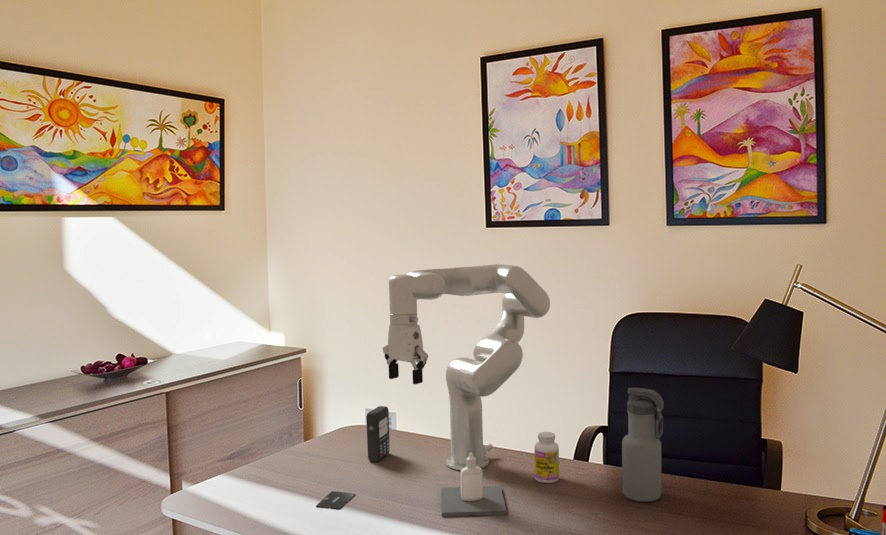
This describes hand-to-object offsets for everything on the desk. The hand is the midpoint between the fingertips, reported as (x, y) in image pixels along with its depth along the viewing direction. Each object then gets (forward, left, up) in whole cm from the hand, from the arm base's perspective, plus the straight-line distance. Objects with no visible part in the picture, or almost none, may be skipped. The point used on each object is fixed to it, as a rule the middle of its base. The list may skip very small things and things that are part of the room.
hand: (405, 380), depth 204 cm
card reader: (-7, -20, -28) cm, 36 cm away
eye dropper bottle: (0, +24, -28) cm, 36 cm away
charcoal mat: (0, +24, -28) cm, 37 cm away
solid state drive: (+22, -4, -29) cm, 37 cm away
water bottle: (-32, +55, -28) cm, 69 cm away
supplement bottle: (-25, +29, -28) cm, 48 cm away
